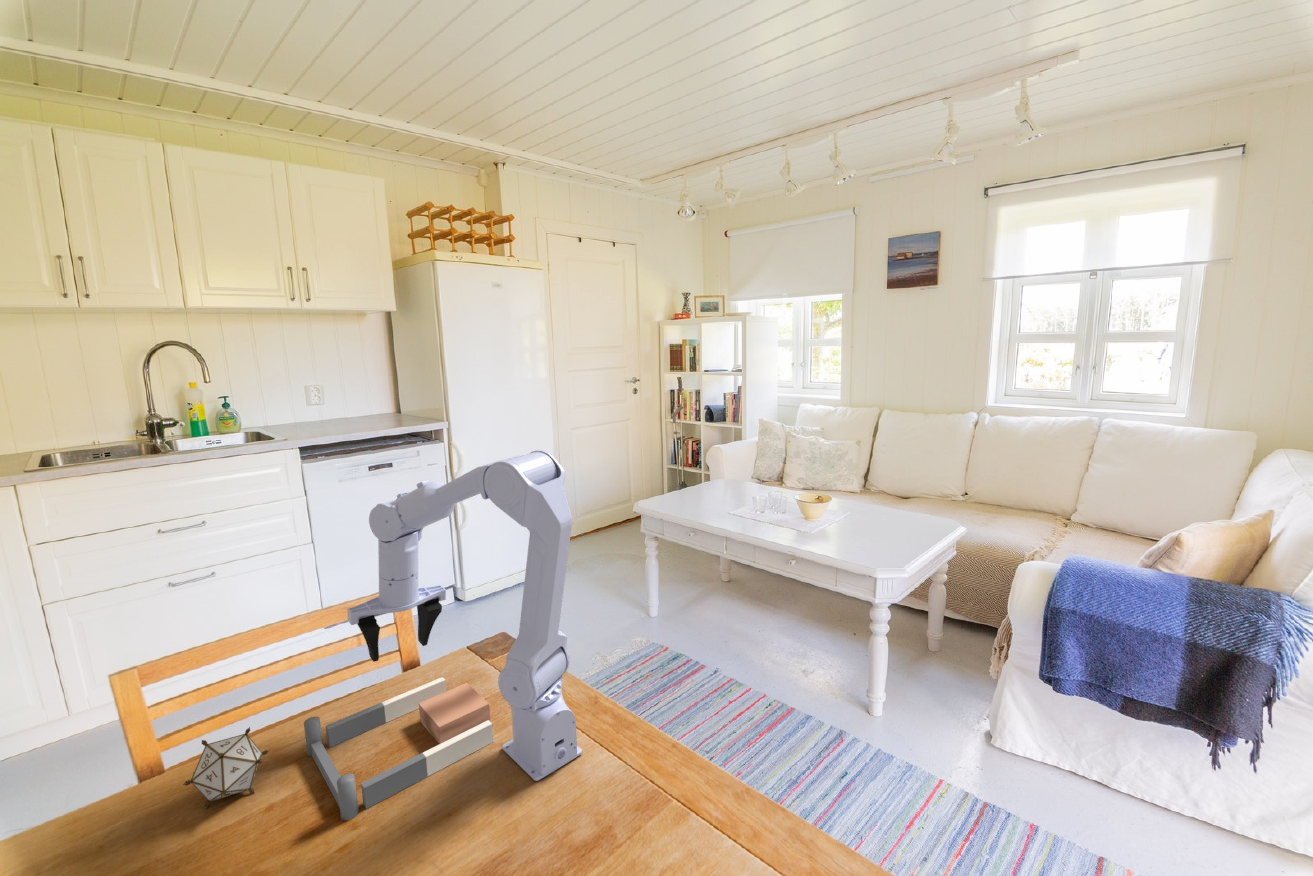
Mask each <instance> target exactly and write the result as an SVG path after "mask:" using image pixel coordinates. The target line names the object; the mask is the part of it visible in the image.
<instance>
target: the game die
mask: <svg viewBox="0 0 1313 876" xmlns="http://www.w3.org/2000/svg"><path fill="white" fill-rule="evenodd" d="M250 731H251V726H249V727H248V728H247V729H245V731H244V733H243V734H239V735H236V736H232V737H228V738H225V739H222V740H221V739H220V740H217V741H213V742H210V743H208V741H207V740H204V739H201V745H202V746H204V748H203V751H202V752H201V756H200V758H199V760H198V762H197V765H196V767H195V769H194V771H193V772H192V773H193V774H192V777H191V779H188V780H185V781H184V782H183V783H182V786H189V785H190V784H192V785H193V786H194V787H195V788H196V789H197V790H198V791H199V793H200V794H202V796H203V797H204V798H205V799H206V800H207V802H205V804H204V809H205V810H206V809H207V808H209V807H210V806H211V804H212V803H211V802H215V801H216V800H220V799H224V798H227V797H231V796H234V795H236V794H240V793H243V792H246V791H248V793H249V794H255V789H254V788H253V787H252V786H253V783H254V779H255V778H256V777H255V776H256V774H257V772H258V768H259V765H260V764H262V763H263V762H264V760H263V758H262V757H263V756H264V755H267V754H268V753H269V752H270V751H269V750H266V749H265V750H263V751H261V749H260V748H259V747H258V746H257V745H256V744H255V742H254V741H253V740H252V739H251V737H250V735H249V733H250Z"/></svg>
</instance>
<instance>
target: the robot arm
mask: <svg viewBox="0 0 1313 876" xmlns="http://www.w3.org/2000/svg"><path fill="white" fill-rule="evenodd" d="M565 480H566V470H565V469H564V468H563V466H562V465H561V464H560V462H559V461H558V460H557V459H556V458H555V457H554V455H552V454H551V453H550V452H548V451H546V450H542V449H538V450H532V451H531V452H529V453H527V454H521V455H516V456H512V457H508V458H503V459H501V460H497V461H493V462H490V463H486V464H483V465H479V466H477V467H474V468H473V469H472V470H470V471H468V472H466V473H464V474H462V475H460V476H458V477H457V478H455V479H453V480H451V481H449V482H447V483H446V484H445V483H443V482H441V481H436V480H435V481H430V480H429V479H427V480H423V481H420V482H419V483H416V489H413V490H412V491H410V492H408V491H402V492H400V493H398V494H397V495H396V499H394V500H391V501H388V502H381V503H377V504H376V506H374V507H373V508H372V509H371V511H370V513H369V516H368V524H369V527H370V530H371V532H372V534H373V535H374V536H375V537H376V539H377V541H378V544H377V545H378V548H377V549H378V596H377V597H374V598H371V599H369V600H367V601H365V602H362V603H359V604H357V605H355V606H351V607H348V608H347V614H346V615H347V621H348V623H349V624H350V626H353V625H357V626H358V627H359V630H360V631H361V633H362V636H363V638H364V640H365V642H366V645H367V649H368V650H367V651H368V654H369V657H370V659H371V661H372V662H379V659H380V658H379V657H380V656H379V654H380V653H379V652H380V651H379V640H380V639H379V637H380V630H381V626H380V625H379V624H378V623H377V618H376V617H379V616H382V615H386V614H393V613H394V614H395V613H401V612H402V613H403V612H405V611H408V610H409V611H410V610H411V609H414V608H417V610H416V611H417V620H418V621H417V622H418V624H417V640H418V641H417V642H419V643H420V644H421V645H422V647H424V646H427V645H428V642H429V639H430V635H431V631H432V629H433V627H434V625H435V623H436V621H437V619H438V617H439V615H440V614H441V613H442V610H443V606H442V604H441V603H440V602H442V601H446V600H447V597H446V596H447V589H446V588H445V587H444V586H443V585H442V584H439V585H433V586H423V587H419V542H420V541H421V539H422V532H423V529H424V528H426V527H428V526H430V525H432V524H435V523H437V522H439V521H441V520H444V519H446V518H448V517H449V516H451V514H453V512H454V509H455V506H456V504H458V503H460V502H463V501H465V500H467V499H470V498H472V497H475V496H478V495H481V498H482V499H483V500H490V501H491V502H492V503H493V504H494V505H495V506H496V507H497V508H498V509H500V510H501V511H502V512H503V513H505V514H506V515H507V516H509V517H510V518H511V519H512V520H513V521H514V522H516V523H517V524H518V525H520V526H521V527H523V528H526V529H527V530H528V532H529V538H528V546H527V547H528V548H527V557H526V565H525V572H524V573H525V574H524V585H523V591H522V592H523V593H522V603H521V611H520V620H519V621H520V622H519V629H518V630H519V631H518V634H517V637H516V638H515V641H514V642H513V644H512V645H511V648H510V649H509V651H508V653H507V654H506V657H505V658H506V660H505V664H504V667H503V668H502V670H501V671H500V672H499V675H498V680H497V684H498V688H499V692H500V693H501V696H502V697H503V699H504V700H505V701H506V702H507V704H508V705H510V707H511V721H512V722H511V723H512V738H513V739H511V740H509V741H507V742H505V743H504V744H502V750H503V751H504V752H505V754H507V755H508V756H509V757H510V758H511V760H513V761H514V762H515V763H517V764H516V765H518V766H519V767H520V768H521V769H522V770H523V771H524V772H525V773H526V774H528V775H529V776H530V778H532V780H534V781H536V782H537V781H540V780H541V779H543V778H545V777H546V776H548V775H549V774H551V773H553V772H555V771H556V770H559V768H561V767H563V766H564V765H566V764H568V763H570V762H571V761H573V760H574V759H575V758H577V757H579V756H581V755H582V754H583V749H582V748H581V747H580V746H578V741H577V739H578V738H577V719H576V716H575V714H574V712H573V711H572V710H571V709H570V708H569V707H568V705H567V704H566V702H565V699H564V697H563V691H562V685H563V683H564V680H563V675H565V673H566V672H568V669H569V667H570V662H571V661H570V654H569V652H568V648H567V641H568V636H567V635H566V634H565V633H564V632H562V631H561V630H560V620H561V613H562V606H563V604H562V603H563V597H564V590H565V589H564V588H565V583H566V582H565V581H566V573H567V567H568V557H569V550H570V541H571V535H572V534H571V533H572V525H573V517H572V512H571V509H570V508H571V507H570V505H569V502H568V497H567V494H566V490H565Z"/></svg>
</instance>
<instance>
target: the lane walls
mask: <svg viewBox="0 0 1313 876" xmlns="http://www.w3.org/2000/svg"><path fill="white" fill-rule="evenodd" d="M446 691H447V681H446V679H445V678H444V677H443V676H442V677H438V678H437V679H435V680H432V681H429V682H427V683H425V684H423V685H420V686H418V687H415V688H413V689H410V690H407V691H406V692H404V693H400V694H398V695H396V696H393V697H391V698H389V699H386V700H384V701H381V702H382V704H383V705H384V709H385V719H386V723H385V724H387V723H389V722H392V721H393V720H396V719H398V718H400V717H402V716H405V715H407V714H409V713H411V712H414V711H416V710H419V703H420V702H423V701H425V700H427V699H430V698H432V697H434V696H437V695H439V694H441V693H444V692H446ZM493 742H494V729H493V722H491V720H490V721H489V720H487V721H485V722H483V723H481V724H479V725H477V726H475V727H473V728H471V729H469V730H467V731H465V732H463V733H461V734H459V735H457V736H455V737H453V738H451V739H449V740H447V741H445V742H443V743H441V744H439V743H438V744H437V745H436V746H433V747H431V748H429V749H427V750H425V751H424V752H423V751H422V753H423V754H424V755H425V756H426V763H427V774H428V777H429V776H432V775H434V774H435V773H437V772H439V771H442V770H443V769H444V768H447V767H448V766H450V765H452V764H454V763H456V762H458V761H460V760H462V759H464V758H465V757H467V756H469V755H471V754H473V753H475V752H477V751H478V750H481V749H483V748H484V747H487V746H488V745H490V744H493Z"/></svg>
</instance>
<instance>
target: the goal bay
mask: <svg viewBox="0 0 1313 876" xmlns="http://www.w3.org/2000/svg"><path fill="white" fill-rule="evenodd" d="M382 702H383V701H381V702H379V703H376V704H374V705H372V706H369V707H367V708H365V709H362V710H360V711H357V712H355V713H353V714H350V715H347V716H346V717H343V718H341V719H339V720H336V721H332V722H331V723H329V724H326V725H325V730H326V739H327V740H326V741H327V745H328V747H329V748H333V747H335V746H337V745H338V744H339V745H340V744H341V743H344V742H346V741H349V740H351V739H353V738H355V737H357V736H359V735H362V734H364V733H366V732H369V731H370V730H373V729H375V728H378V727H380V726H382V725H385V724H387V723H386V719H385V709H384V705H383V704H382ZM303 728H304V730H303V731H304V735H305V736H304V737H305V744H306V745H305V746H306V752H307V753H306V754H307V756H308V757H312V759H313V760H314V762H315V765H316V766H317V768H318V771H319V772H320V774H321V776H322V777H323V779H324V781H325V782H326V785H327V787H328V788H329V790H330V792H331V795H332V796H333V798H334V800H335V801H336V804H337V805H338V808H339V813H340V819H341V820H342V821H346V822H347V821H350V820H353V819H354V818H356V817H357V816H358V814H359V806H358V795H357V785H356V776H355V774H354V773H346V774H343V775H341V773H340V772H339V771H338V769H337V766H335V765H336V764H334V761H333V760H332V758H331V756H330V755H329V753H328V752H327V750H326V748H325V746H324V743H323V736H322V735H323V734H322V728H321V718H320V716H311V717H308V718H307V719H305V720H304V721H303ZM427 777H429V776H428V774H427V763H426V756H425V755H424V754H423V752H421V753H419V754H416V755H415V756H414V757H411V758H409V759H407V760H405V761H403V762H401V763H399V764H397V765H395V766H393V767H391V768H389V769H387V770H385V771H382V772H381V773H378V774H377V775H375V776H373V777H371V778H369V779H366V780H365V781H362V782H361V783H360V786H361V787H360V788H361V797H362V804H363V806H364V808H365V809H366V810H367V809H369V808H371V807H373V806H375V805H376V804H378V803H380V802H382V801H384V800H386V799H388V798H389V797H392V796H394V795H395V794H396V795H397V793H399V792H401V791H403V790H405V789H407V788H408V787H411V786H412V785H414V784H417V783H418V782H420V781H422V780H424V779H426V778H427Z"/></svg>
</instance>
